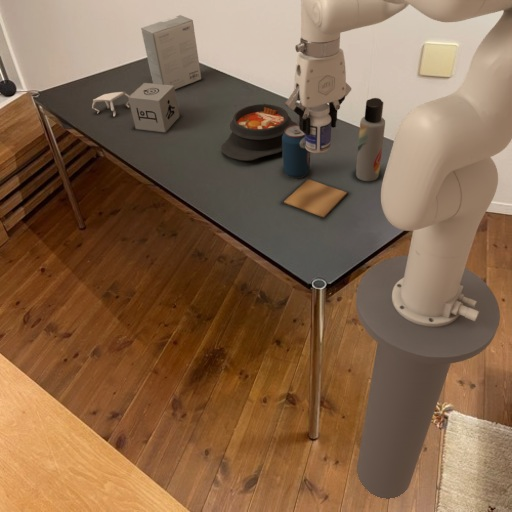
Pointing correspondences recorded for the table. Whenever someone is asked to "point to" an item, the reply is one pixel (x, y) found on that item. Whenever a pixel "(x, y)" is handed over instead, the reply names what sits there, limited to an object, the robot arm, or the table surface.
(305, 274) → the table surface
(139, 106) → the icon cube
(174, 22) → the hard drive box
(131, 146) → the table surface
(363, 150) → the lotion bottle
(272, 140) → the casserole
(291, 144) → the soda can
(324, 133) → the pill bottle
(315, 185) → the cork mat
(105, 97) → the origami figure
